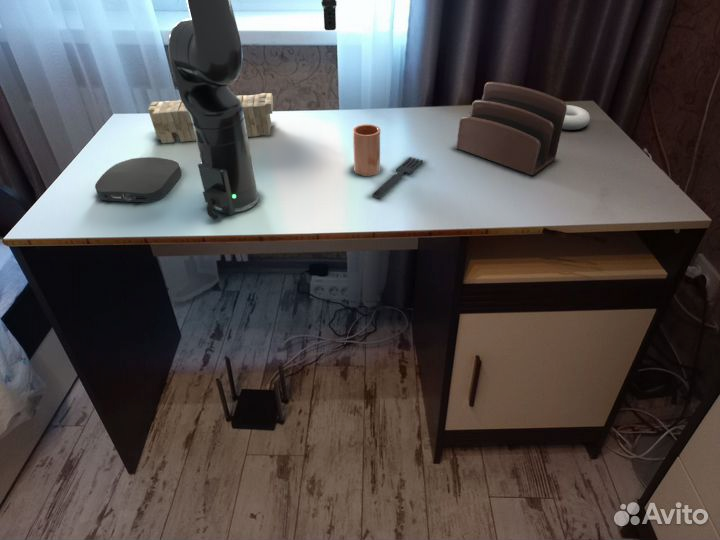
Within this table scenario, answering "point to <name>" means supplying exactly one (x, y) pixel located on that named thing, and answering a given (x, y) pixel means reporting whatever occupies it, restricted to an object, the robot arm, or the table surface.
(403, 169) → the fork
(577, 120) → the donut
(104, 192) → the media streaming box
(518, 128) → the letter holder
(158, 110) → the block tower
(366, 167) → the tumbler
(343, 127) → the table surface
